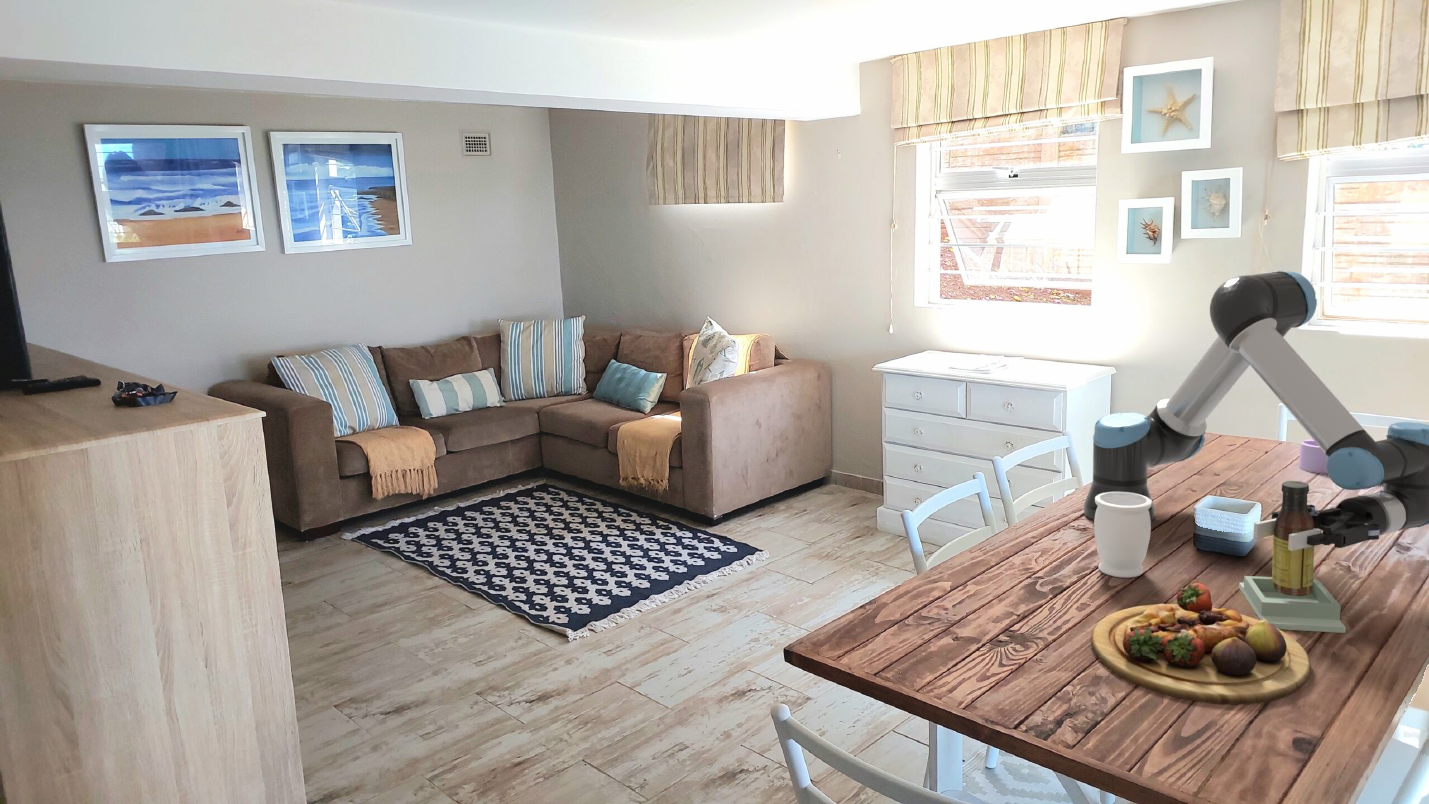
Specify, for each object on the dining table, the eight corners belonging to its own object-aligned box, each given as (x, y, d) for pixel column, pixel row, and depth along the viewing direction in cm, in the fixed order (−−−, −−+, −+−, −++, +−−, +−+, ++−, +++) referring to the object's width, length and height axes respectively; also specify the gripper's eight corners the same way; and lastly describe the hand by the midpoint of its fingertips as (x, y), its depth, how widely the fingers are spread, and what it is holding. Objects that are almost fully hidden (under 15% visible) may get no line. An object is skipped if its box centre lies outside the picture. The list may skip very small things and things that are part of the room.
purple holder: (1294, 472, 250) (1296, 446, 248) (1306, 461, 258) (1308, 436, 257) (1387, 484, 236) (1389, 457, 235) (1396, 472, 245) (1398, 446, 243)
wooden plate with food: (1126, 601, 179) (1127, 559, 177) (1327, 642, 159) (1330, 595, 157) (1061, 672, 156) (1061, 625, 154) (1287, 731, 135) (1290, 677, 133)
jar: (1154, 581, 186) (1157, 507, 183) (1098, 580, 189) (1100, 506, 186) (1142, 561, 197) (1144, 490, 194) (1088, 560, 199) (1090, 490, 196)
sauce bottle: (1301, 583, 173) (1309, 477, 169) (1319, 597, 167) (1327, 488, 163) (1263, 584, 174) (1269, 478, 170) (1279, 598, 168) (1287, 489, 164)
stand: (1265, 628, 165) (1266, 609, 164) (1239, 587, 182) (1240, 569, 181) (1345, 632, 161) (1347, 613, 161) (1310, 590, 178) (1312, 572, 178)
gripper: (1321, 482, 183) (1227, 501, 175) (1424, 510, 165) (1325, 532, 157) (1318, 520, 184) (1225, 540, 177) (1420, 551, 166) (1322, 575, 159)
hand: (1272, 536), depth 167 cm, fingers closed on sauce bottle, 6 cm apart
